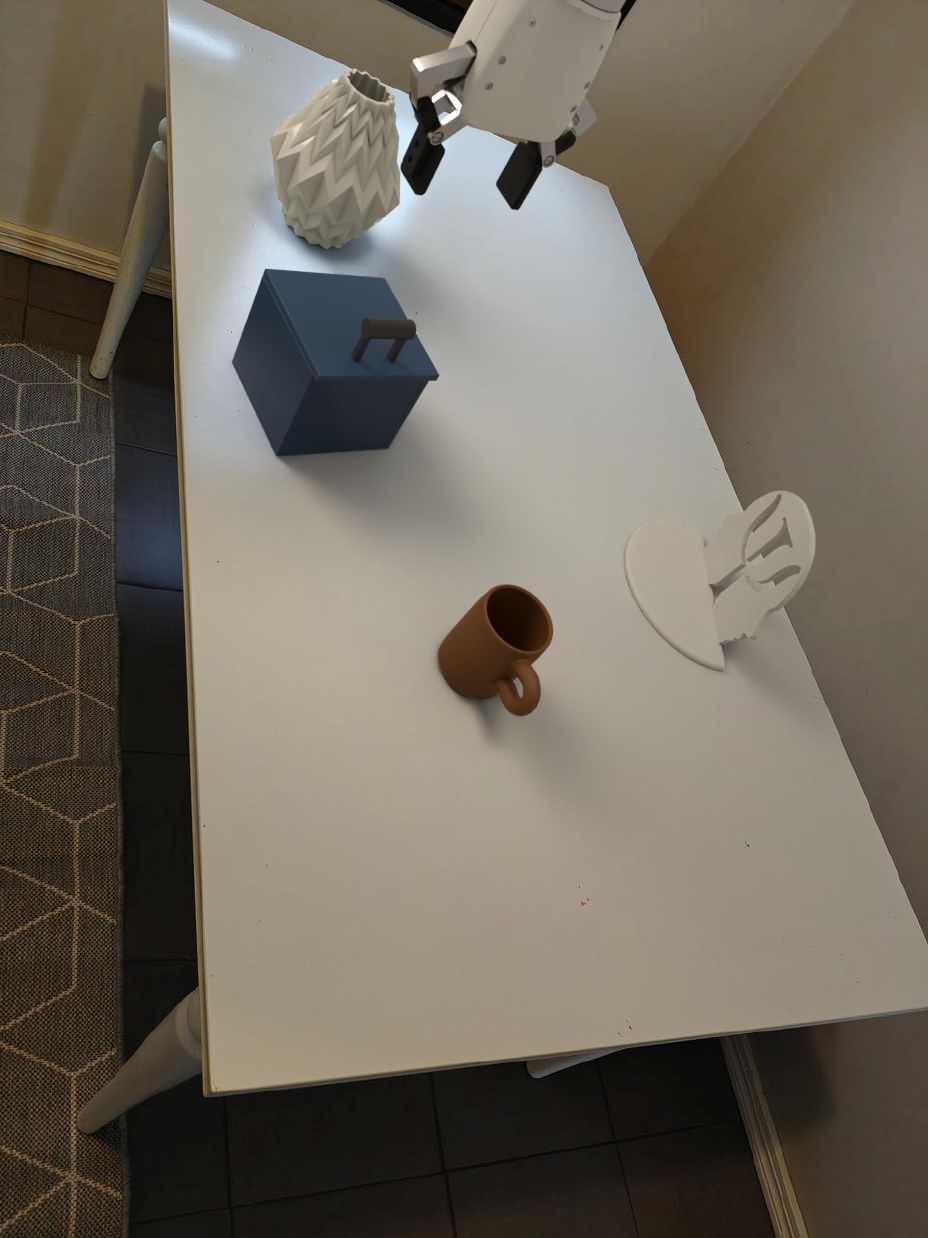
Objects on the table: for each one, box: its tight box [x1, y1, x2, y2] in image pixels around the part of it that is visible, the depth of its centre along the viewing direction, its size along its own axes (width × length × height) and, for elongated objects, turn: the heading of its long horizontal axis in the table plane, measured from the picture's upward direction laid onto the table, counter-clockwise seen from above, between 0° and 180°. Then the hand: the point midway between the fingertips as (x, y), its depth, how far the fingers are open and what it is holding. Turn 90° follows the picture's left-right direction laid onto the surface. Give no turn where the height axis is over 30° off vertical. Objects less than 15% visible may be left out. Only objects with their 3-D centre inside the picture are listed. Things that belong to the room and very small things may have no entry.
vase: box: [269, 67, 401, 250], centre depth 102 cm, size 16×16×18 cm
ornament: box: [623, 490, 817, 672], centre depth 99 cm, size 22×13×17 cm, turn 178°
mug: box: [438, 583, 554, 717], centre depth 79 cm, size 12×8×9 cm, turn 14°
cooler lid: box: [262, 268, 440, 382], centre depth 81 cm, size 13×14×5 cm
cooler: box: [231, 275, 430, 457], centre depth 87 cm, size 13×14×11 cm
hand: (460, 190), depth 68 cm, fingers open, 9 cm apart
